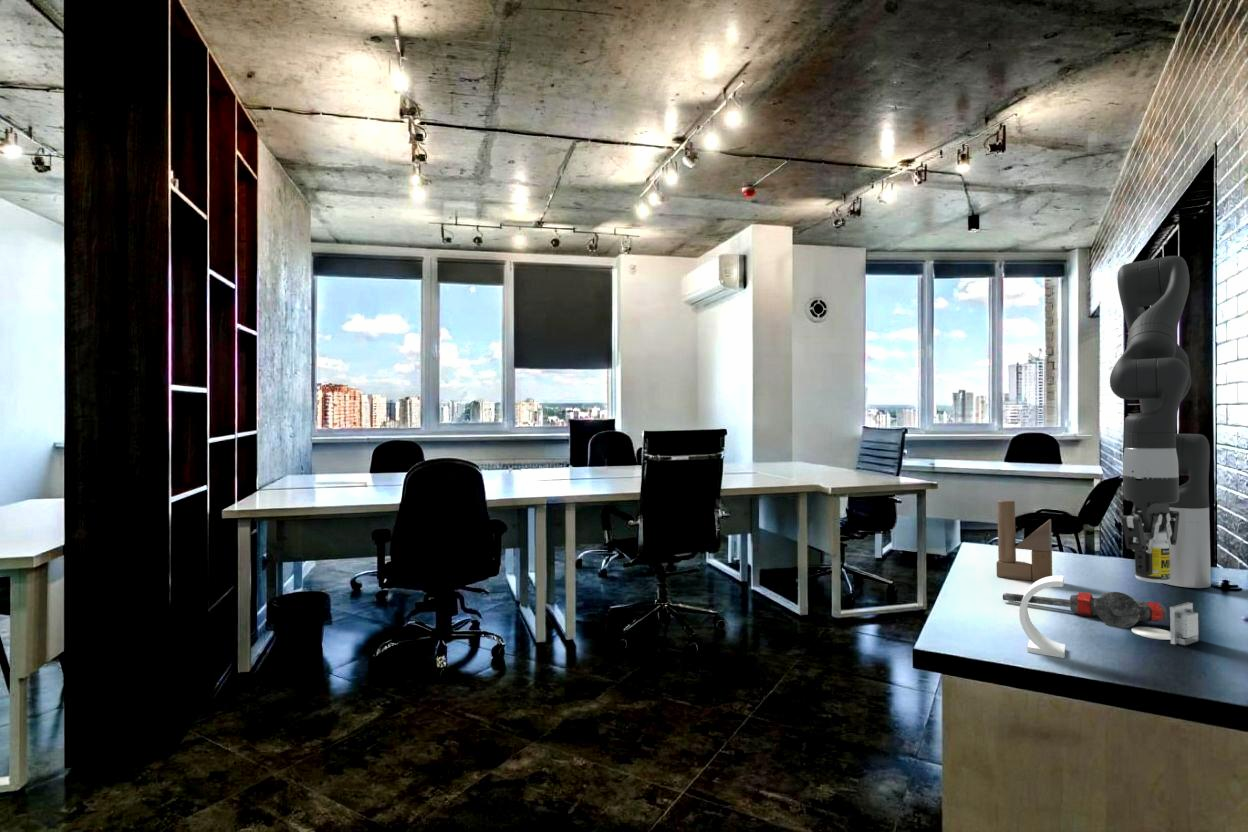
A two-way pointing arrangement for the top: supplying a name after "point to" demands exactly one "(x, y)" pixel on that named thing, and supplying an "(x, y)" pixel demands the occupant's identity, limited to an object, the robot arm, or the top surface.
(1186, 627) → the flange stub
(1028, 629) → the headphone stand
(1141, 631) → the pad
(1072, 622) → the top surface
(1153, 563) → the supplement bottle
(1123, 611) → the valve
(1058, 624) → the top surface
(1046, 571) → the wooden block
